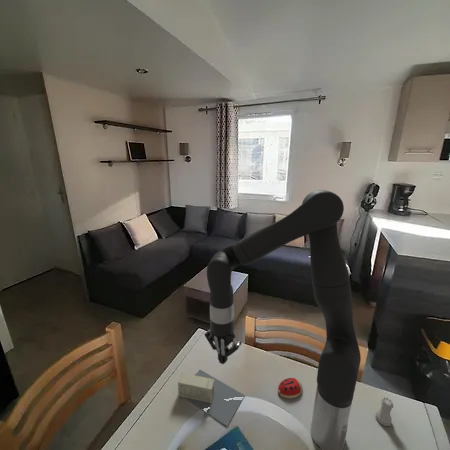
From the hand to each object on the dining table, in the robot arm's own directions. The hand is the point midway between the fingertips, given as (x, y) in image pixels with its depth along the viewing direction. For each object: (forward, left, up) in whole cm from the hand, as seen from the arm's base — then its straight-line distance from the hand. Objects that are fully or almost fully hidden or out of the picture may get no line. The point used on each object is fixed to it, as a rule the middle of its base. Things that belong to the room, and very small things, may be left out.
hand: (222, 361), depth 76 cm
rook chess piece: (-47, -23, -18) cm, 56 cm away
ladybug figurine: (-19, -17, -18) cm, 31 cm away
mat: (+5, 0, -18) cm, 18 cm away
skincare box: (+3, 0, -14) cm, 14 cm away
